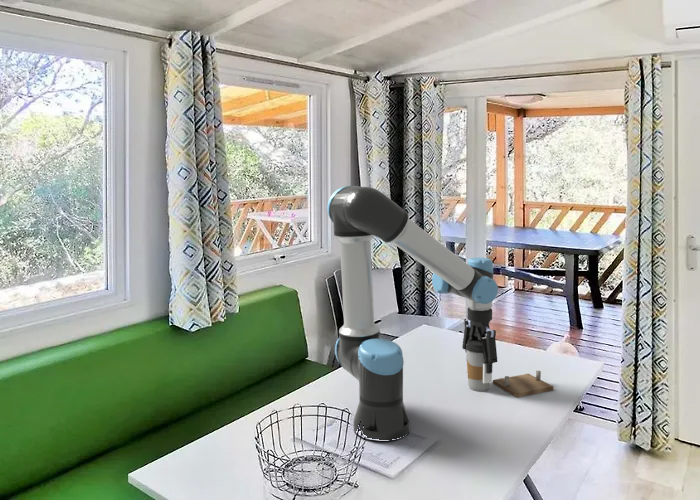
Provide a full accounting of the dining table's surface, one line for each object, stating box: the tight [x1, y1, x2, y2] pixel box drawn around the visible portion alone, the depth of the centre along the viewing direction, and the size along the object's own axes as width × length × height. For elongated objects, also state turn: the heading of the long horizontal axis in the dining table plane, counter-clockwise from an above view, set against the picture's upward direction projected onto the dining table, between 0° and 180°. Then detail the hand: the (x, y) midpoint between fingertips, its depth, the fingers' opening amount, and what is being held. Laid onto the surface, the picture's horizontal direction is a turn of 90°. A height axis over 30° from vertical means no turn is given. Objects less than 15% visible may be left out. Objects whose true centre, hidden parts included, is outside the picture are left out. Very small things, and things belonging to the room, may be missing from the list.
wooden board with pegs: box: [492, 370, 555, 398], centre depth 181 cm, size 14×12×4 cm
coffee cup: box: [465, 339, 490, 392], centre depth 180 cm, size 8×8×15 cm
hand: (478, 377), depth 181 cm, fingers closed on coffee cup, 8 cm apart
